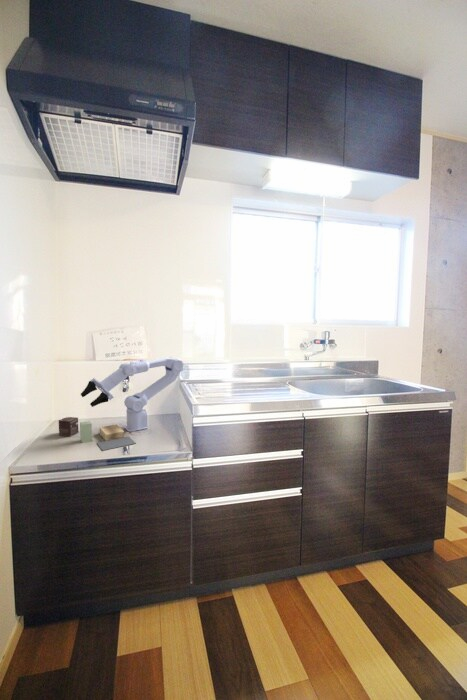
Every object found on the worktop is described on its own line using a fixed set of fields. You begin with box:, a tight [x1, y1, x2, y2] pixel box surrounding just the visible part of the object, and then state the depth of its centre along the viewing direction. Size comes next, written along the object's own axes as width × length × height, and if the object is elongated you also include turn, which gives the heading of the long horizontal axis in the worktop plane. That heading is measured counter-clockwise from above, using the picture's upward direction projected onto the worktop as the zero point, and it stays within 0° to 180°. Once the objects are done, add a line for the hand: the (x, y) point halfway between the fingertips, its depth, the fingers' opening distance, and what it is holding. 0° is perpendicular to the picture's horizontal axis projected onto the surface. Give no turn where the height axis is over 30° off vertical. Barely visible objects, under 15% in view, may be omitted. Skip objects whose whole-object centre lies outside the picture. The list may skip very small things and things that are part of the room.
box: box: [58, 416, 80, 437], centre depth 155 cm, size 6×6×7 cm
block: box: [79, 420, 93, 444], centre depth 148 cm, size 4×4×8 cm
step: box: [98, 424, 125, 441], centre depth 154 cm, size 8×12×3 cm, turn 35°
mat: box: [96, 436, 137, 452], centre depth 145 cm, size 14×10×1 cm
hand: (86, 400), depth 149 cm, fingers open, 7 cm apart
